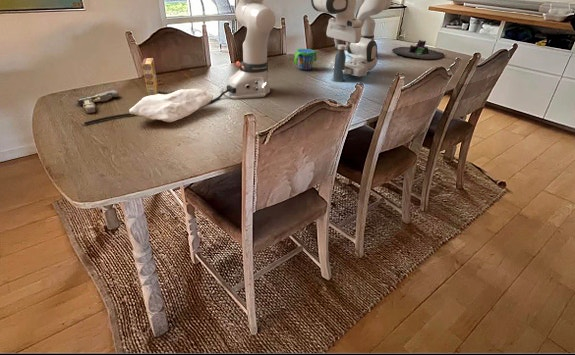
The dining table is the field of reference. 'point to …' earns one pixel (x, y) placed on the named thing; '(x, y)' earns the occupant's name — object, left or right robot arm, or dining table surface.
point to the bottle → (339, 66)
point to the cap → (341, 46)
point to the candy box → (150, 76)
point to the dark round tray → (418, 51)
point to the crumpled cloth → (171, 104)
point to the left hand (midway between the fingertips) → (341, 49)
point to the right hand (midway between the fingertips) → (338, 70)
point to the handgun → (95, 100)
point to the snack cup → (305, 58)
